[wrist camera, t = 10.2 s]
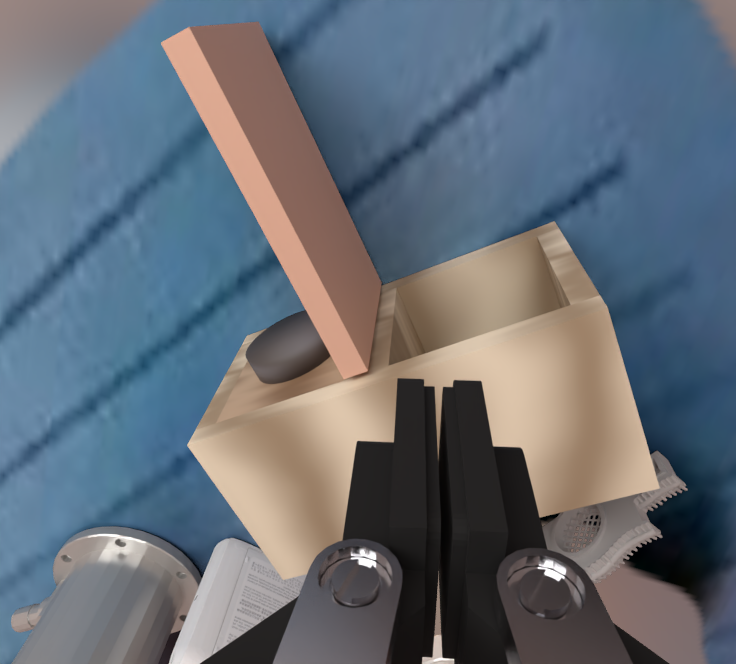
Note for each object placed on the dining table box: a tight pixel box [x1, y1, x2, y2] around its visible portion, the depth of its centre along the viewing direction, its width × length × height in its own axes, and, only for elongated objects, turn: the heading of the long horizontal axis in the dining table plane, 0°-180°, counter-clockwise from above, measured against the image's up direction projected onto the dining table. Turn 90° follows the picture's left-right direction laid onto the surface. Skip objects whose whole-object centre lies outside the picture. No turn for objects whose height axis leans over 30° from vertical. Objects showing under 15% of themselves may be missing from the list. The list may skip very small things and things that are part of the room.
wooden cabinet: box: [187, 221, 660, 580], centre depth 33 cm, size 20×11×11 cm, turn 114°
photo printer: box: [169, 538, 307, 664], centre depth 43 cm, size 10×4×12 cm, turn 59°
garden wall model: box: [542, 451, 688, 583], centre depth 40 cm, size 12×2×6 cm, turn 140°
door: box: [161, 22, 382, 379], centre depth 28 cm, size 15×2×10 cm, turn 24°
